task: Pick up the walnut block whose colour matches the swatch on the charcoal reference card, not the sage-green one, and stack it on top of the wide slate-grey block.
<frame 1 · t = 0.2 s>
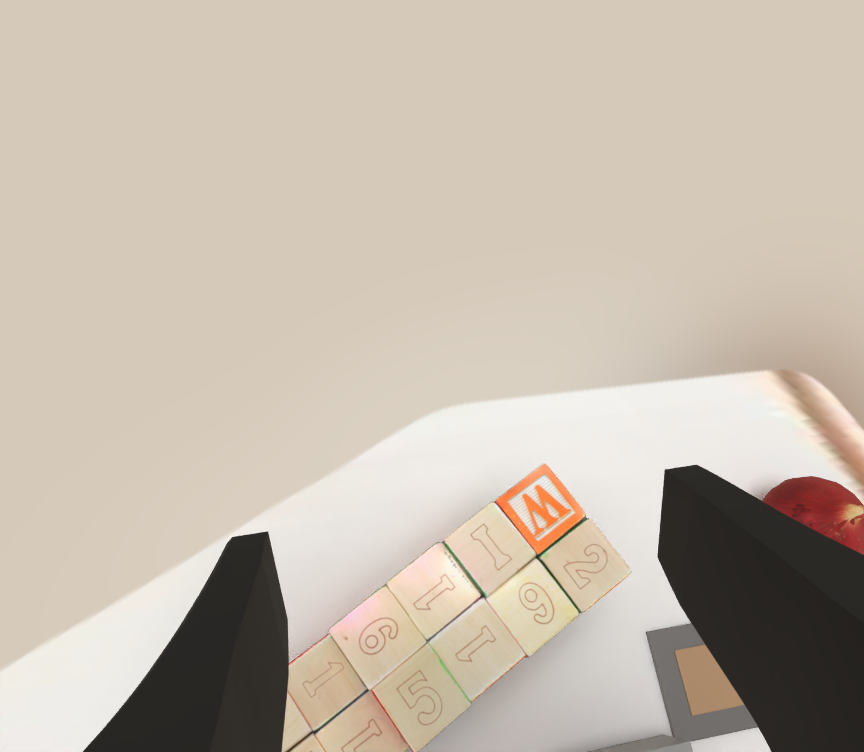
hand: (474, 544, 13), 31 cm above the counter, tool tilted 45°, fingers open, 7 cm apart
reference card: (708, 676, 42), on the counter
onion: (776, 537, 46), on the counter
stack of blocks: (392, 663, 42), on the counter
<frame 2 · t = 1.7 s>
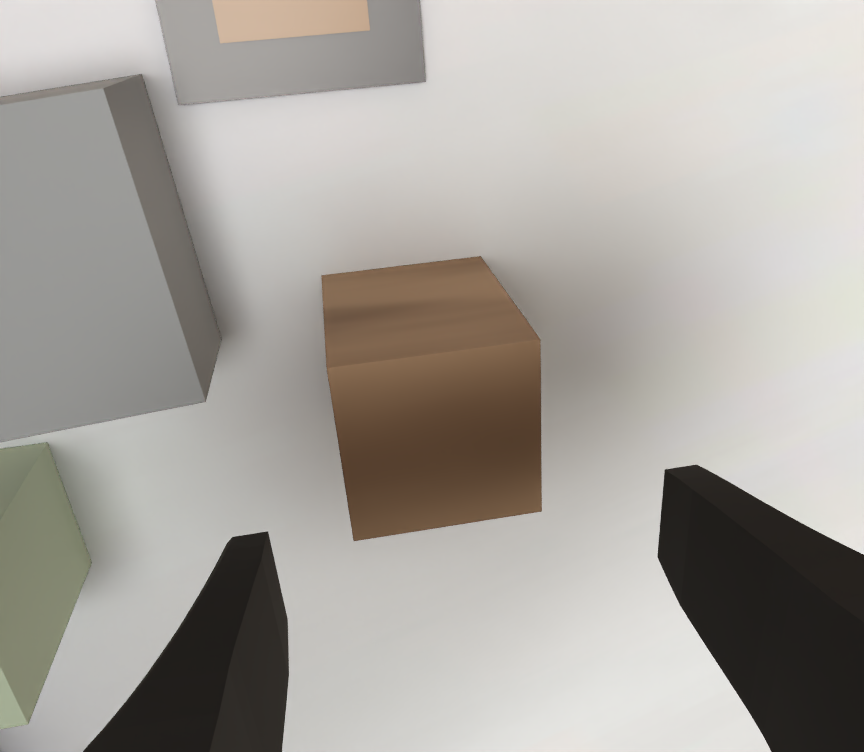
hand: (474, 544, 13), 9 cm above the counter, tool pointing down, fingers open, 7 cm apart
slate base block: (50, 239, 19), on the counter
walnut block: (408, 338, 21), on the counter
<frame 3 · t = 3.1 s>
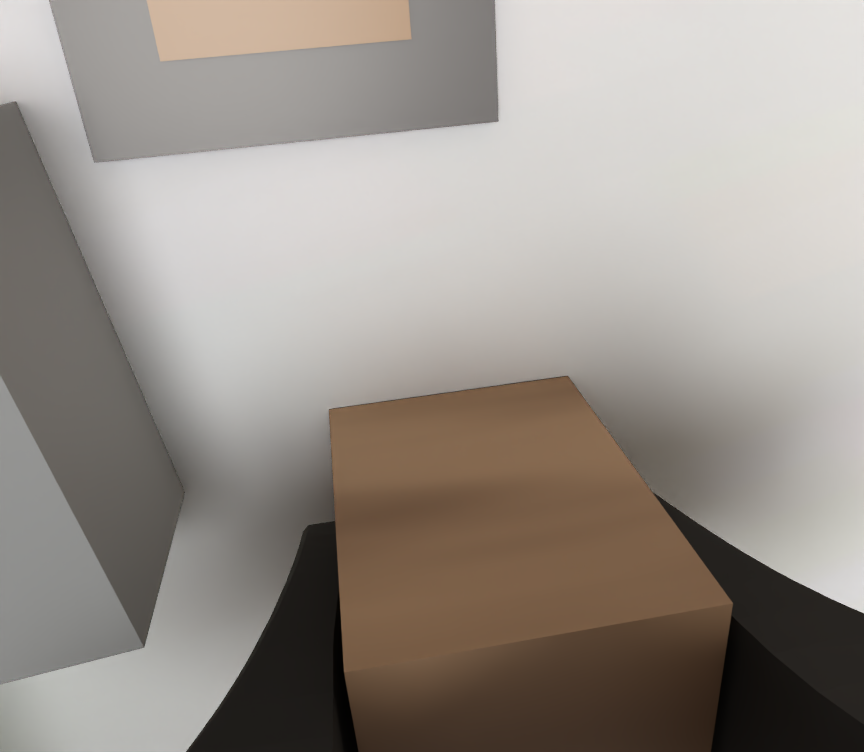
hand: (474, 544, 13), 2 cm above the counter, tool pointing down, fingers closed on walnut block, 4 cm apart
walnut block: (457, 491, 15), on the counter, touching gripper
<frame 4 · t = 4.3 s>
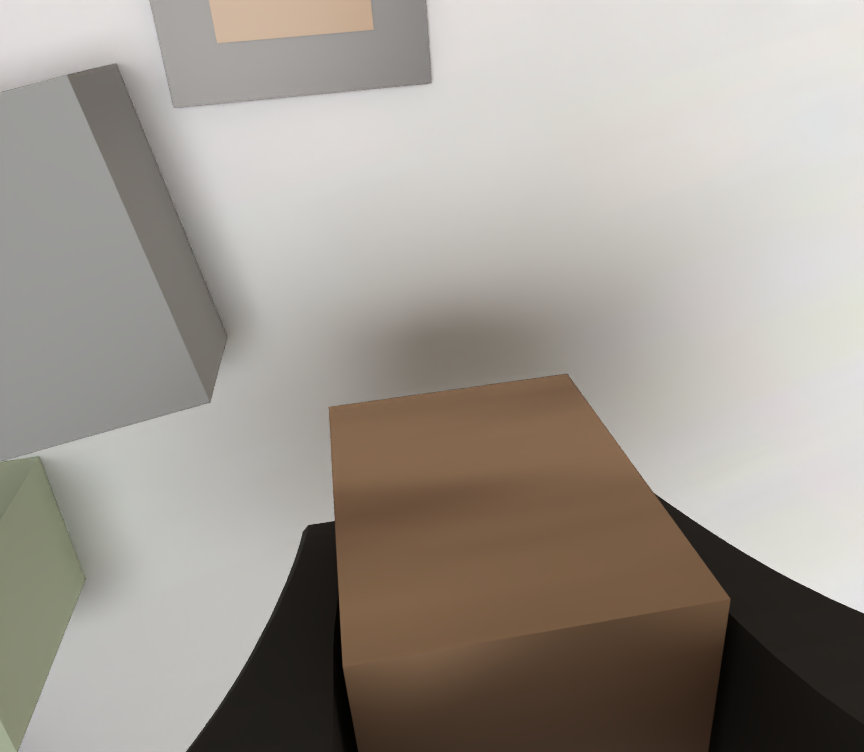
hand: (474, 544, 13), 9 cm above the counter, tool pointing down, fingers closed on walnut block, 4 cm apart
slate base block: (41, 247, 18), on the counter
walnut block: (457, 489, 15), point 7 cm above the counter, touching gripper
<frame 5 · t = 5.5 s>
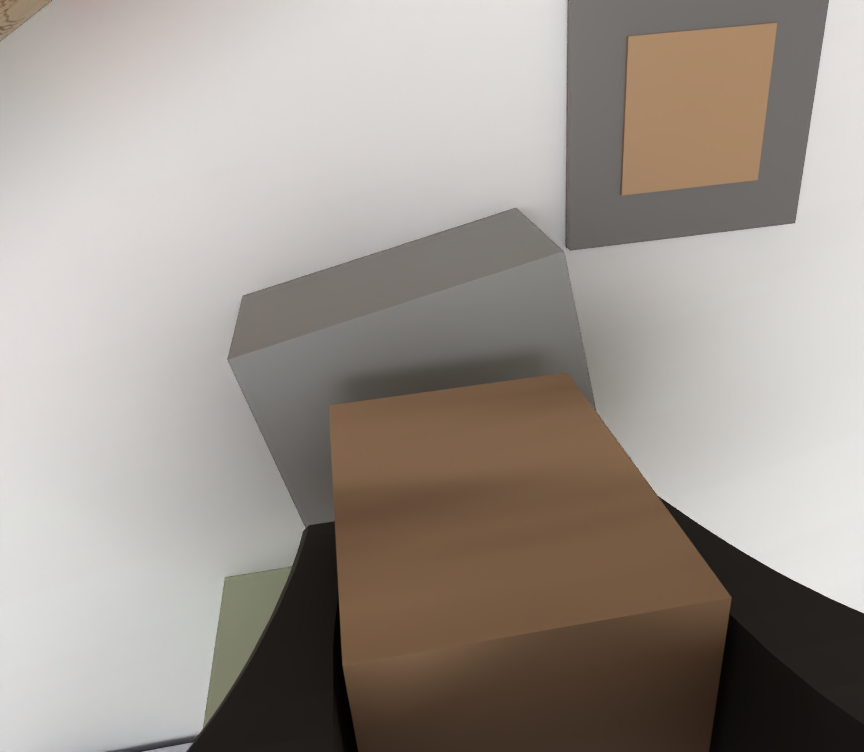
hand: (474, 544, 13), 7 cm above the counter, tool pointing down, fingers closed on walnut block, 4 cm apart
reference card: (688, 110, 17), on the counter
sage block: (313, 620, 23), on the counter
slate base block: (418, 369, 20), on the counter
walnut block: (457, 488, 15), point 5 cm above the counter, touching gripper
when the fingers open (7 cm above the counter, at t = 6.0 s): walnut block drops 1 cm, resting on slate base block.
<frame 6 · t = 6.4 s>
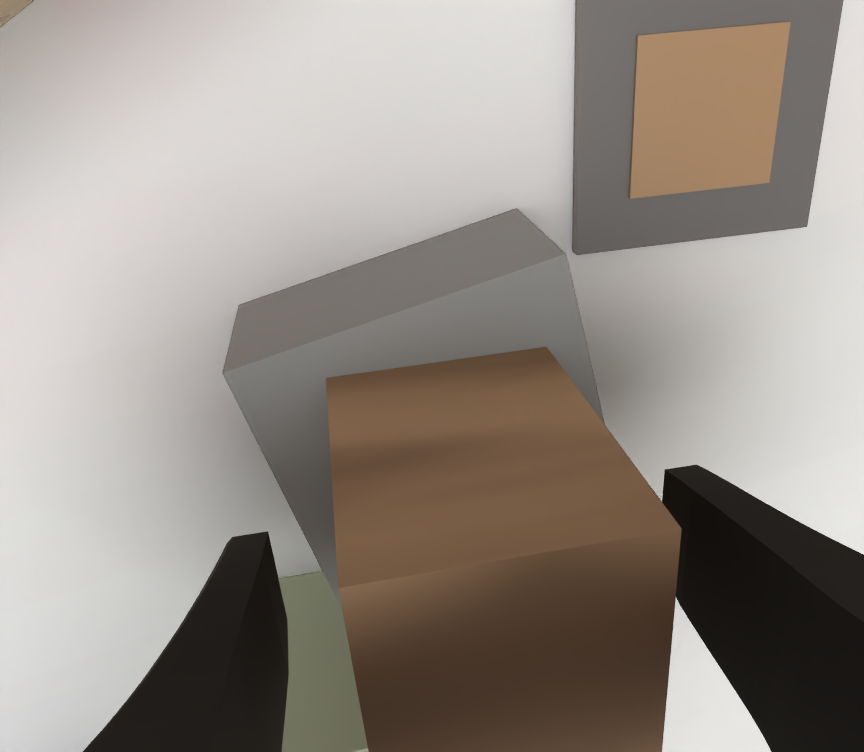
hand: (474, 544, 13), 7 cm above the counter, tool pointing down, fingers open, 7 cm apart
reference card: (699, 111, 17), on the counter
sage block: (313, 630, 22), on the counter
slate base block: (420, 375, 19), on the counter, touching walnut block
walnut block: (446, 456, 16), point 4 cm above the counter, touching slate base block
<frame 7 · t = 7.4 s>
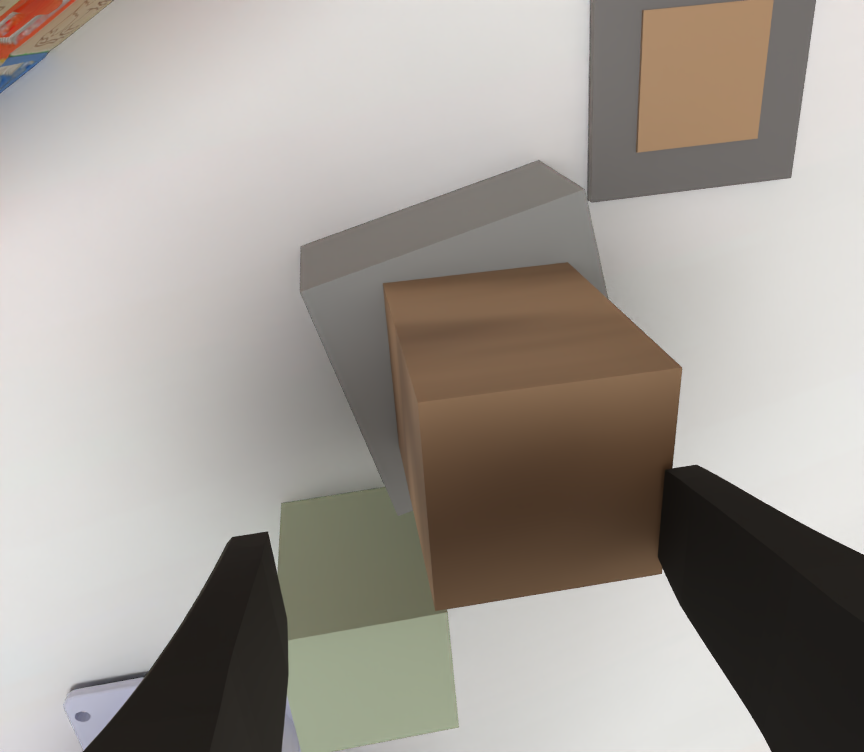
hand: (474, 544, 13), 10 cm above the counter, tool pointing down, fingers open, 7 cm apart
reference card: (696, 76, 20), on the counter
sage block: (358, 545, 25), on the counter
slate base block: (454, 310, 22), on the counter
walnut block: (479, 358, 18), point 4 cm above the counter
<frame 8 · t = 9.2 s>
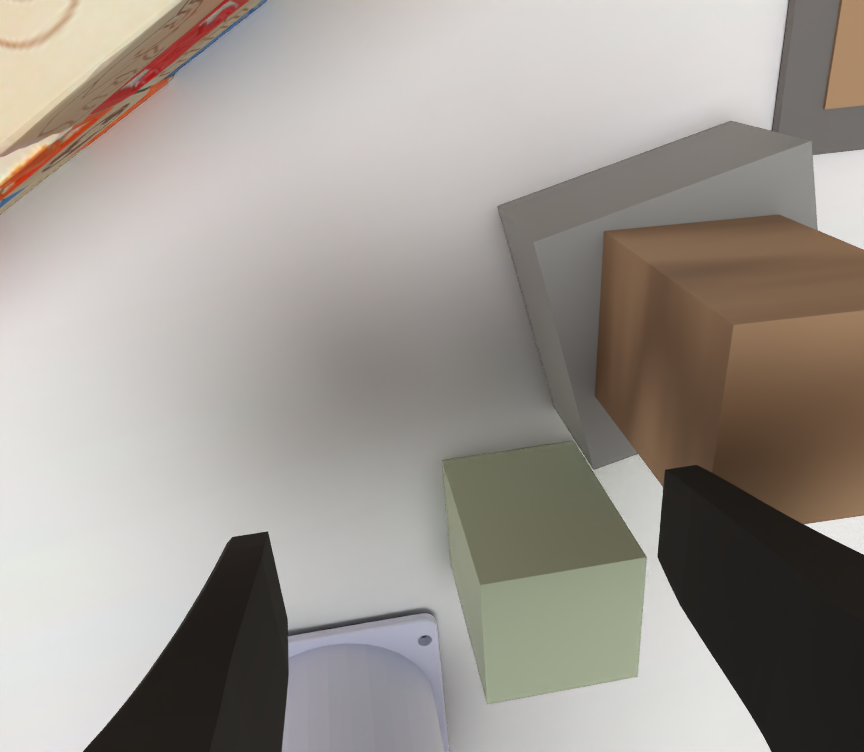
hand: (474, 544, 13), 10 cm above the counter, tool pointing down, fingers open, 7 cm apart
sage block: (509, 504, 25), on the counter
slate base block: (632, 271, 22), on the counter
walnut block: (683, 309, 19), point 4 cm above the counter
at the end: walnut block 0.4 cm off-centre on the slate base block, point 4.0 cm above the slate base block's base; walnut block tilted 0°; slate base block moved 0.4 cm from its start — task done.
